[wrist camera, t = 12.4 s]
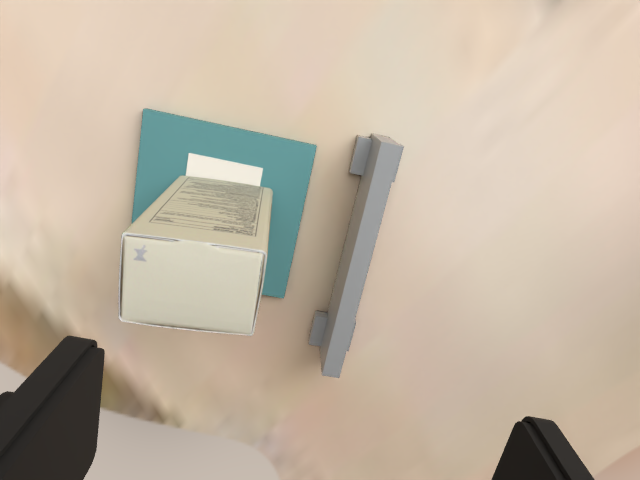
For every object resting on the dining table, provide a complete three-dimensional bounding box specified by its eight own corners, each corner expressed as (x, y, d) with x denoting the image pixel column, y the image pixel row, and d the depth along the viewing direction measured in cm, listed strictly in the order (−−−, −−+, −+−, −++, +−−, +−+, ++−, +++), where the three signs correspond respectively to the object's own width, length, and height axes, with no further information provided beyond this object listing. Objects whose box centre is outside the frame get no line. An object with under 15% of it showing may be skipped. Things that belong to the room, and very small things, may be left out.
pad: (316, 145, 32) (316, 146, 32) (283, 294, 36) (283, 299, 35) (146, 108, 31) (142, 109, 30) (129, 266, 34) (126, 270, 34)
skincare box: (174, 235, 33) (108, 323, 22) (179, 172, 32) (111, 230, 20) (269, 249, 34) (254, 341, 22) (278, 187, 32) (267, 252, 21)
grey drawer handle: (402, 140, 32) (416, 149, 29) (346, 348, 37) (351, 380, 34) (358, 130, 32) (366, 138, 28) (307, 342, 37) (308, 373, 33)
